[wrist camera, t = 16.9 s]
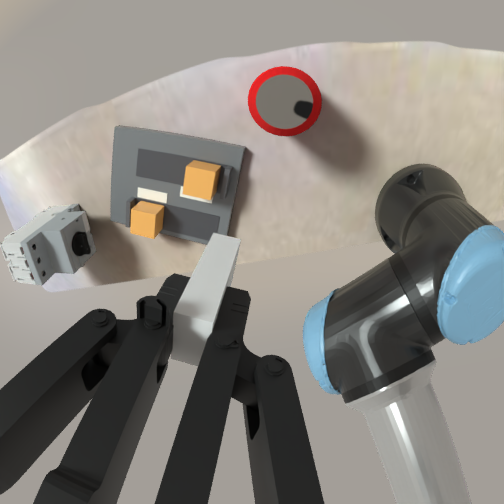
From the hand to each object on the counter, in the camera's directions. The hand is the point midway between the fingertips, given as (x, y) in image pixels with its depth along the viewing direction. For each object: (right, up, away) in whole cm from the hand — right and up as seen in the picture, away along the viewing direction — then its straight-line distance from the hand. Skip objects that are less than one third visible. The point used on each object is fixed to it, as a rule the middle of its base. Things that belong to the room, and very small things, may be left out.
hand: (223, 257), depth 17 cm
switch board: (-11, +11, +29) cm, 33 cm away
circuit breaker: (-30, +6, +35) cm, 47 cm away
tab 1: (-14, +6, +30) cm, 34 cm away
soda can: (+6, +21, +22) cm, 31 cm away
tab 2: (-5, +11, +26) cm, 29 cm away
